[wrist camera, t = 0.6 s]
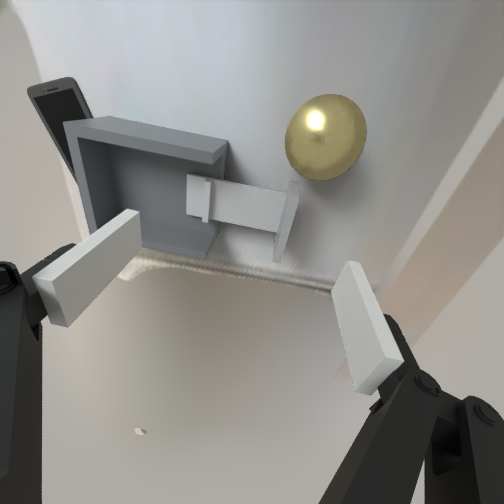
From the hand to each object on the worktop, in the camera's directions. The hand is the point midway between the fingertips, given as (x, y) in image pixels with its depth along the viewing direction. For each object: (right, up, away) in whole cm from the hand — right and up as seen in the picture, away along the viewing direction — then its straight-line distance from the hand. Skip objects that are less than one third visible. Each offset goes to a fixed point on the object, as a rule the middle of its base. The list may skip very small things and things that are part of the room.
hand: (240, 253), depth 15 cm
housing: (-11, +11, +20) cm, 26 cm away
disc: (+8, +12, +11) cm, 18 cm away
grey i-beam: (-1, +7, +18) cm, 19 cm away
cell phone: (-24, +16, +19) cm, 34 cm away
